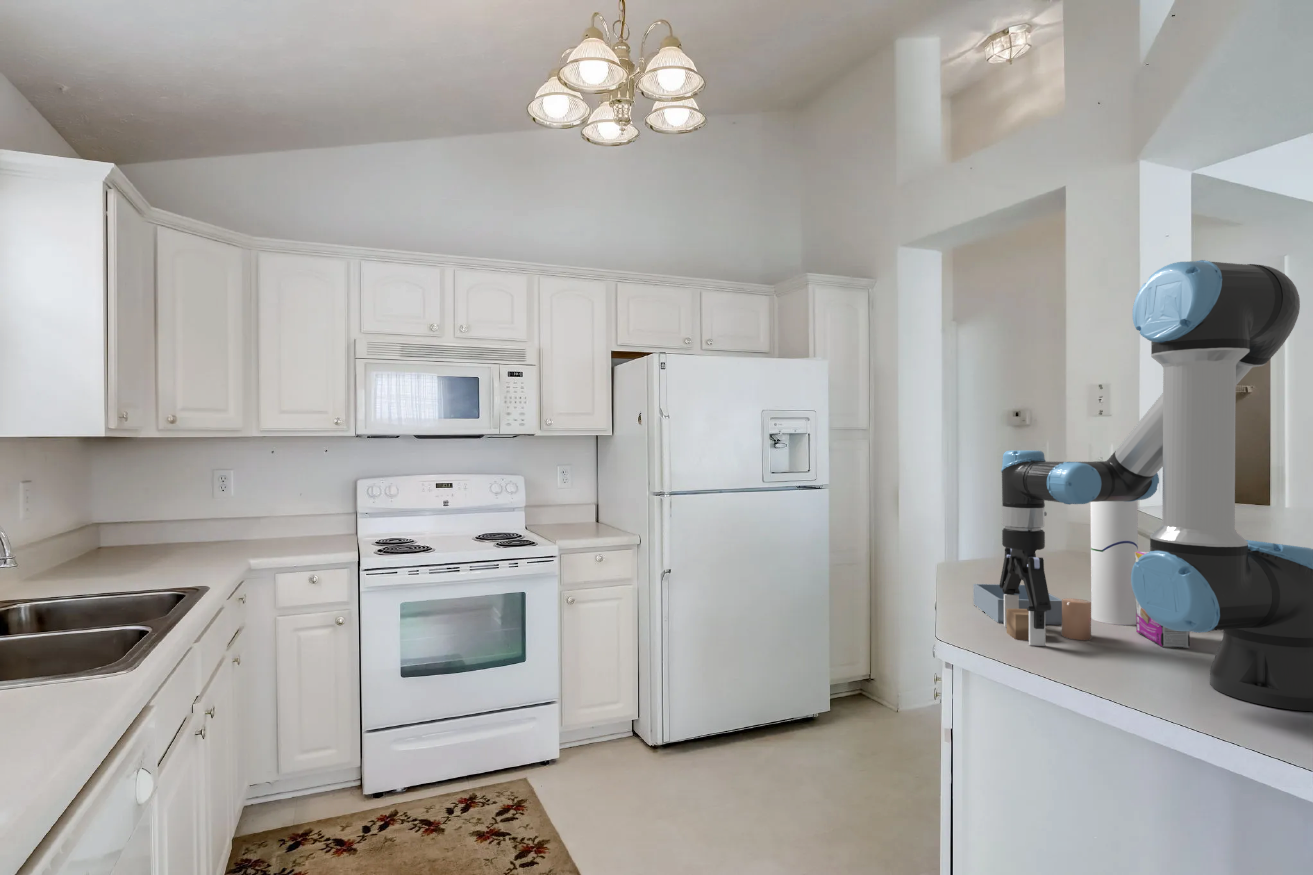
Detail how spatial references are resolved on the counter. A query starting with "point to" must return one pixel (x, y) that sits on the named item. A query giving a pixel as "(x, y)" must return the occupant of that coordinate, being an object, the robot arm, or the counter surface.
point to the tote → (993, 603)
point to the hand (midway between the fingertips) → (1023, 635)
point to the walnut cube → (1018, 623)
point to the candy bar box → (1159, 627)
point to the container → (1113, 561)
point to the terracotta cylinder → (1076, 619)
